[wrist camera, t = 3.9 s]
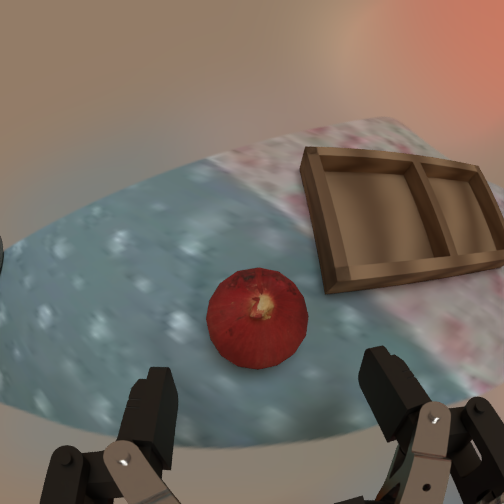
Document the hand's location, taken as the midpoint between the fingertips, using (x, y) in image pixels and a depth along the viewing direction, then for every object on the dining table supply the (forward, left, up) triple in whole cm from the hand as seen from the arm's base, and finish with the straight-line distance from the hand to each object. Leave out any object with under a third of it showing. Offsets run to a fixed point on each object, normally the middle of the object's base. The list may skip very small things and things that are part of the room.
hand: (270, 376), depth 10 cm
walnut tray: (+17, +11, -8) cm, 22 cm away
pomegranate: (0, +3, -8) cm, 9 cm away
